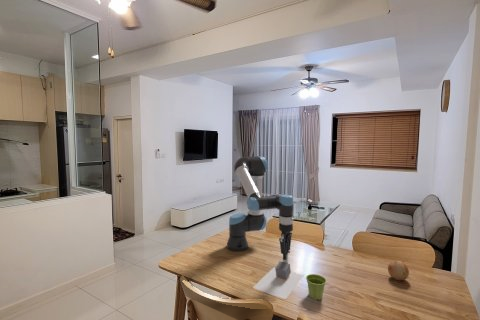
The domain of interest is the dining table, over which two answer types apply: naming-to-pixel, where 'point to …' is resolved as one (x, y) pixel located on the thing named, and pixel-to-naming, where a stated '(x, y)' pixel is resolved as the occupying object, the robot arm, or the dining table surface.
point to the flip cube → (283, 270)
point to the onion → (398, 270)
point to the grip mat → (278, 284)
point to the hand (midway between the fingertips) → (285, 264)
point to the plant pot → (315, 285)
